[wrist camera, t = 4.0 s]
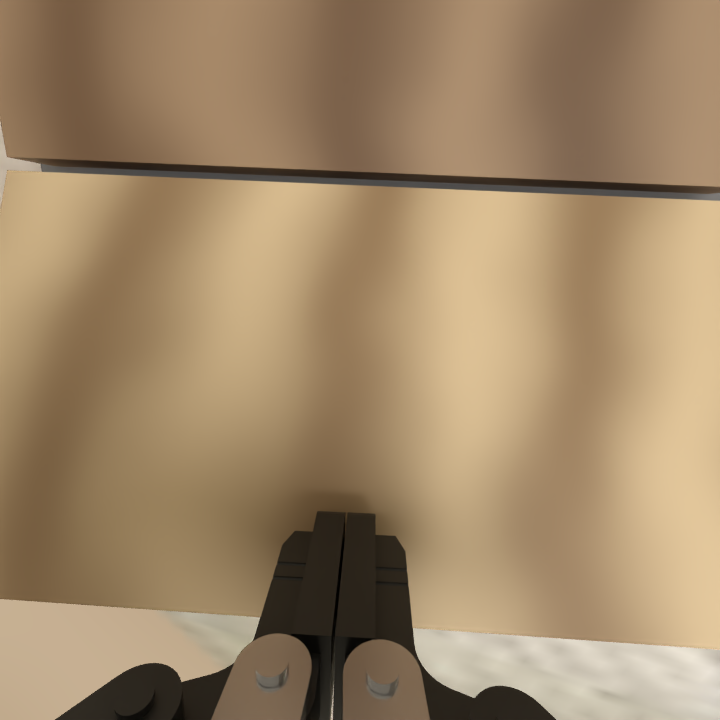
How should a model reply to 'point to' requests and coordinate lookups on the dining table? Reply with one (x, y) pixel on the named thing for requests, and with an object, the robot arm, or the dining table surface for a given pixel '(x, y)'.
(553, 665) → the dining table surface
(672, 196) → the underlay mat
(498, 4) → the walnut plank
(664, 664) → the dining table surface
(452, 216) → the oak plank
